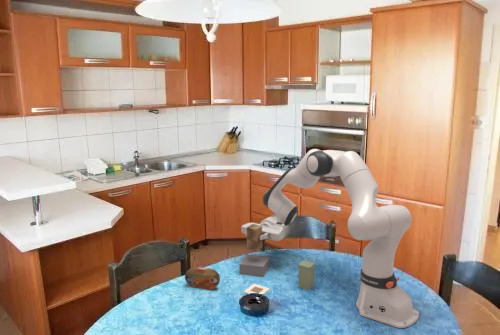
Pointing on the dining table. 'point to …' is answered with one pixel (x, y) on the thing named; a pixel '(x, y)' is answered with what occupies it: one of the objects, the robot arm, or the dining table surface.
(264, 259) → the base block
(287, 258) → the dining table surface
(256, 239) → the walnut block
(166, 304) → the dining table surface
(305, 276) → the olive block
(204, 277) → the tin
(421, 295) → the dining table surface
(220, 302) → the dining table surface
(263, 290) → the card
